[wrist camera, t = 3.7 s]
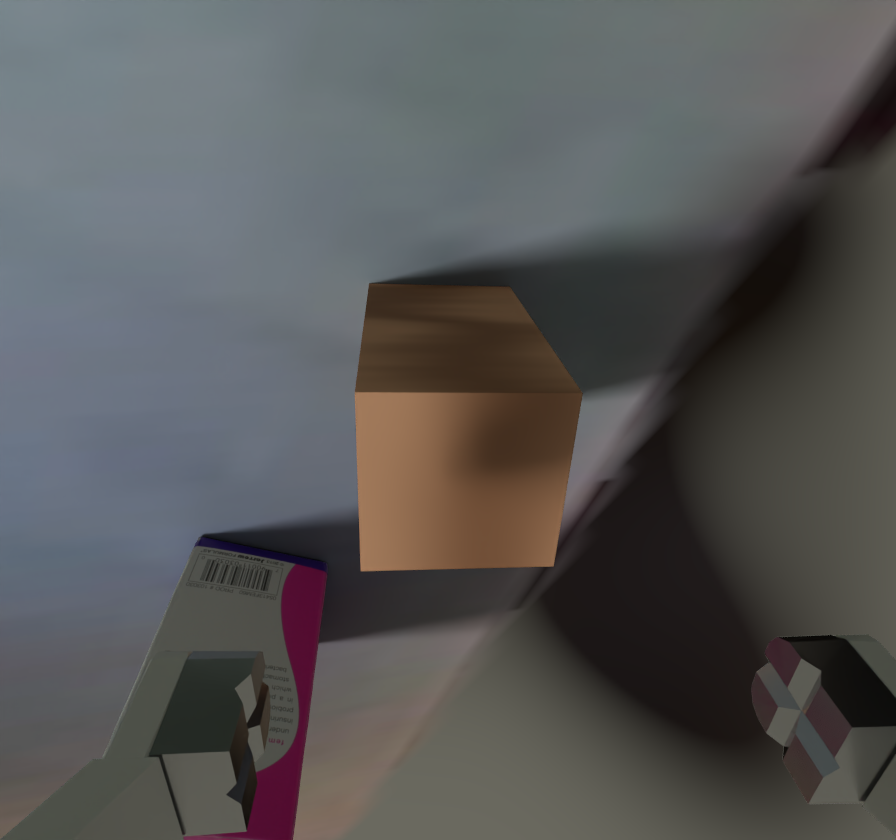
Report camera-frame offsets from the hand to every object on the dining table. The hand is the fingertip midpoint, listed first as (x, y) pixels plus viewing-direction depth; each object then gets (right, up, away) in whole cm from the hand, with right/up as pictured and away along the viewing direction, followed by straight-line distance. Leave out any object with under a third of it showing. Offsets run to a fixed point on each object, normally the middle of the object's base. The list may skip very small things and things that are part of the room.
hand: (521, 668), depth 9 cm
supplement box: (-10, -4, +17) cm, 20 cm away
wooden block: (-2, +7, +12) cm, 14 cm away
